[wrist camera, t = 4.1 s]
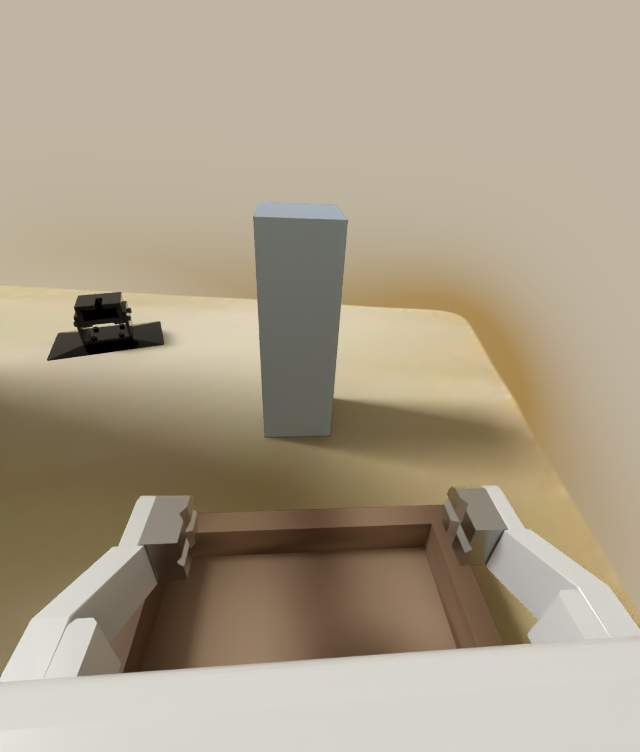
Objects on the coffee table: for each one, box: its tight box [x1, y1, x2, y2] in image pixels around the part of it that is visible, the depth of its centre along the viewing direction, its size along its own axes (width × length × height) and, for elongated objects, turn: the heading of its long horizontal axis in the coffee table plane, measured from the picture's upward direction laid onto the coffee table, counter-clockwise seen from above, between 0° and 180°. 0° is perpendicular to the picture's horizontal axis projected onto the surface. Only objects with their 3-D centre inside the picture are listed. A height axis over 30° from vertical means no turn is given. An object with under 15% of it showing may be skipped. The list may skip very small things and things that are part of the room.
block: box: [253, 202, 348, 437], centre depth 23 cm, size 4×4×14 cm
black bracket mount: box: [47, 292, 164, 361], centre depth 35 cm, size 12×7×5 cm, turn 112°
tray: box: [110, 505, 504, 673], centre depth 12 cm, size 14×14×2 cm
